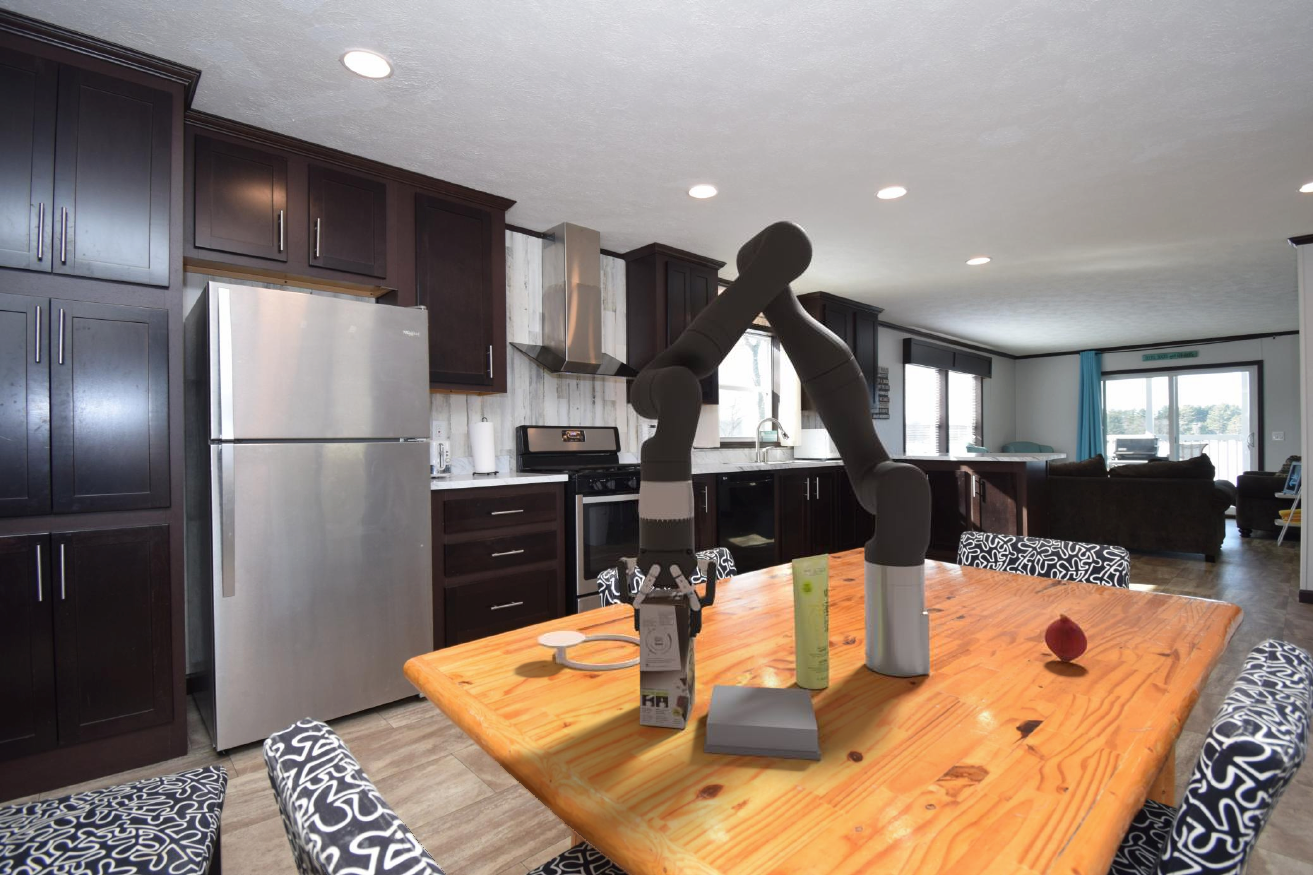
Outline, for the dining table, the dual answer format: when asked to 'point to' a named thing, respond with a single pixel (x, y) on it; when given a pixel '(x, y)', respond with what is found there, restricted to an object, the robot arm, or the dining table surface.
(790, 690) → the plate
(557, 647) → the hand towel holder
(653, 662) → the coffee box
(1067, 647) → the onion
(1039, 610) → the dining table surface
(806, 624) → the tube
